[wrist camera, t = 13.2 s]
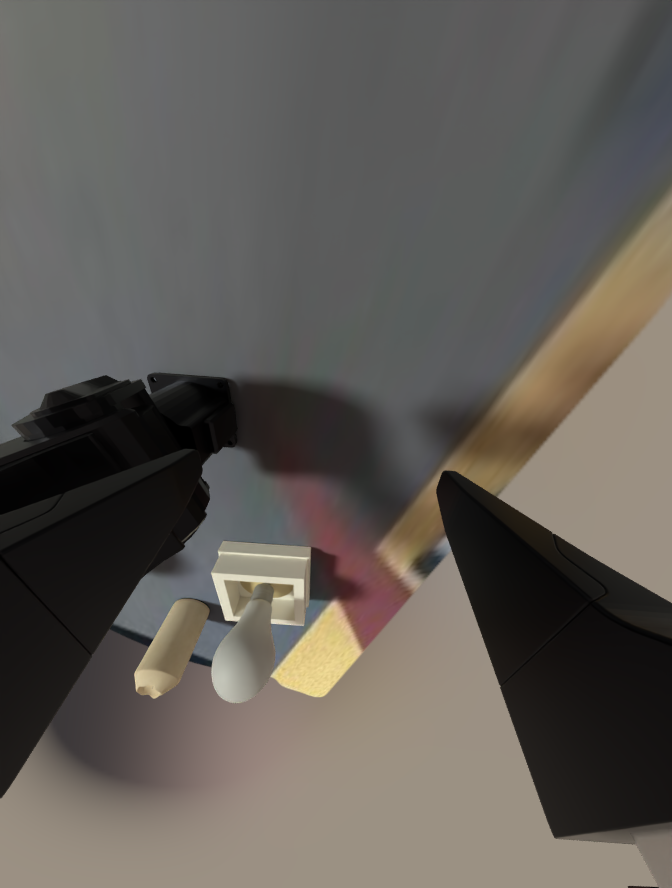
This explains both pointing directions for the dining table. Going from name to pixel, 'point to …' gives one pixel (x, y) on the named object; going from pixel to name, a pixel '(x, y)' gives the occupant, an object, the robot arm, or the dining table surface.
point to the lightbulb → (246, 651)
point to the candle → (171, 648)
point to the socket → (263, 579)
